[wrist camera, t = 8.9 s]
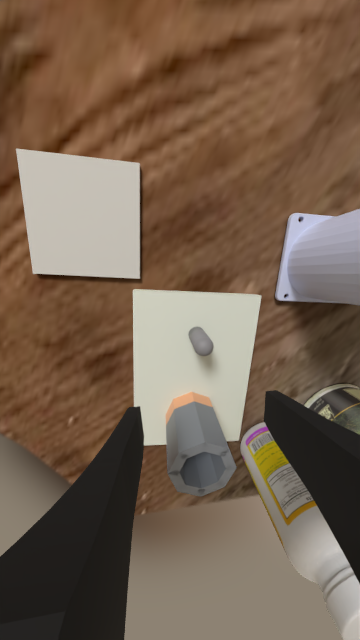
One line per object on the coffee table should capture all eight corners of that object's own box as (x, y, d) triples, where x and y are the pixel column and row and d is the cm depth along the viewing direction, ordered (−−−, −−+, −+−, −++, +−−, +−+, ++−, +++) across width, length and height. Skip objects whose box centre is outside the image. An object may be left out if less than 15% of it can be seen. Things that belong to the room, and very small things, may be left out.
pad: (140, 165, 15) (139, 163, 15) (140, 278, 17) (139, 278, 17) (20, 152, 14) (16, 148, 14) (35, 273, 16) (33, 273, 16)
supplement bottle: (278, 462, 25) (396, 651, 12) (232, 459, 24) (310, 661, 11) (294, 420, 23) (447, 587, 11) (246, 415, 22) (354, 592, 10)
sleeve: (204, 386, 19) (223, 434, 14) (218, 422, 21) (241, 480, 15) (160, 404, 19) (160, 459, 13) (177, 439, 21) (183, 503, 15)
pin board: (255, 294, 19) (288, 301, 14) (234, 432, 23) (254, 474, 18) (134, 289, 17) (124, 295, 13) (135, 436, 21) (128, 484, 17)
